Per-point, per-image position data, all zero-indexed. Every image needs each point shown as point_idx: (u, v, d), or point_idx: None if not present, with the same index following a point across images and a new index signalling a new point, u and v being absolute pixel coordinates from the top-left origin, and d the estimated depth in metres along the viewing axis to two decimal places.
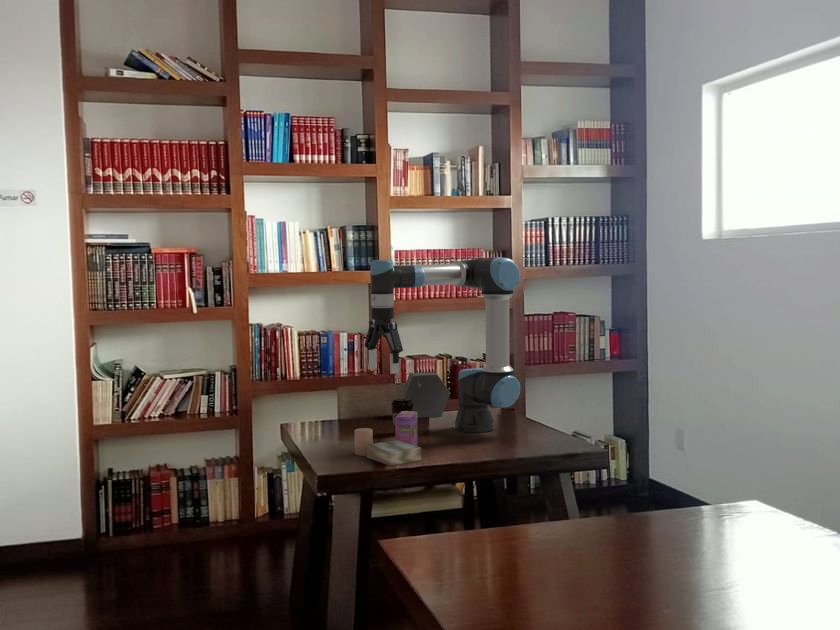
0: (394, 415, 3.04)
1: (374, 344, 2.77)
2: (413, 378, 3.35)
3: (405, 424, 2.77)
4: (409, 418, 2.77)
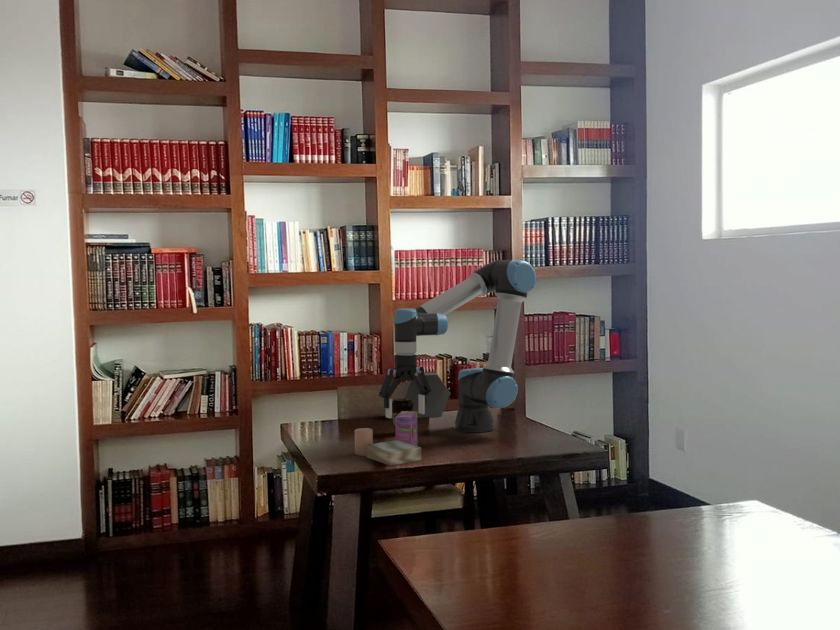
0: (394, 415, 3.04)
1: (419, 389, 2.85)
2: None
3: (405, 424, 2.77)
4: (409, 418, 2.77)
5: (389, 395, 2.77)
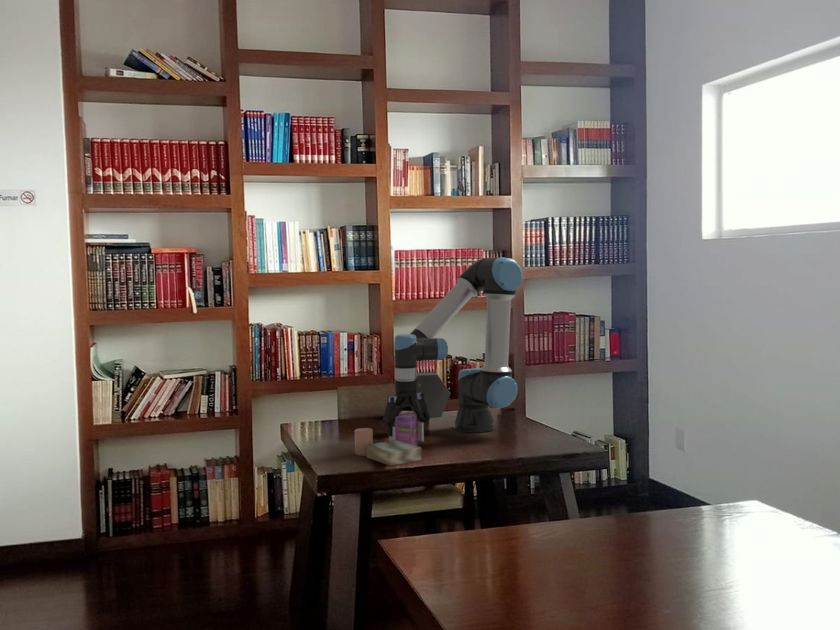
0: None
1: (419, 416, 2.85)
2: None
3: (405, 424, 2.77)
4: (409, 418, 2.77)
5: (392, 423, 2.78)
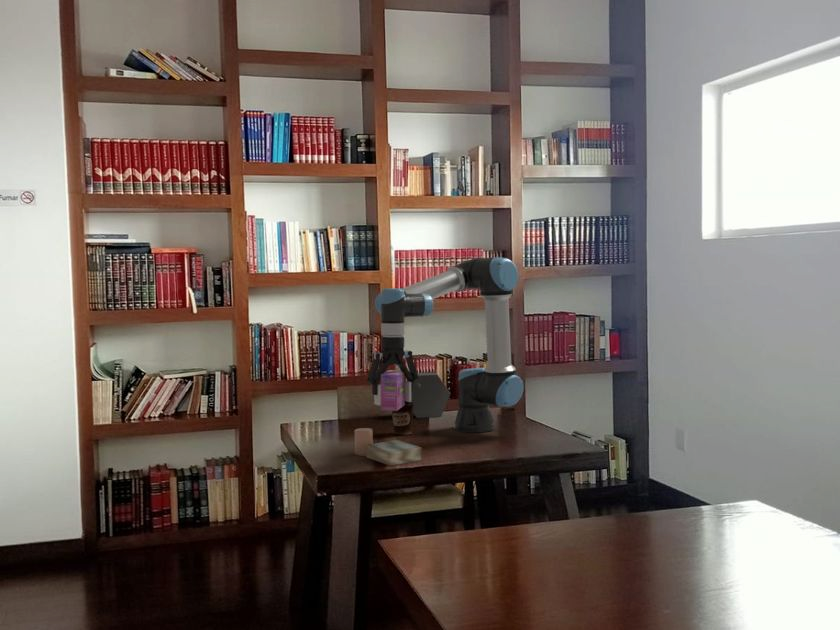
0: (394, 415, 3.04)
1: (406, 375, 2.71)
2: None
3: (391, 382, 2.63)
4: (395, 375, 2.62)
5: (377, 381, 2.63)
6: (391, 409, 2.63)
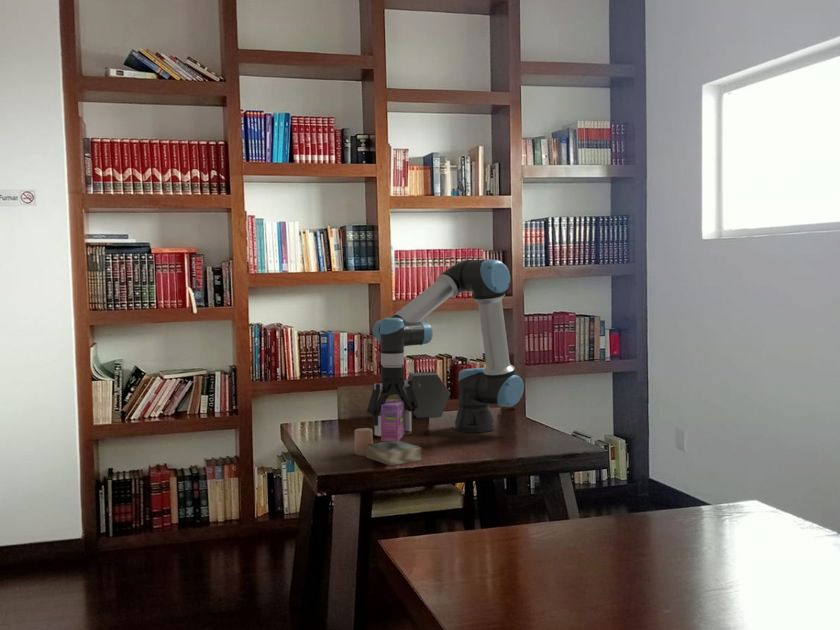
0: None
1: (406, 405, 2.70)
2: (413, 378, 3.35)
3: (391, 412, 2.62)
4: (395, 406, 2.61)
5: (378, 411, 2.62)
6: (391, 440, 2.62)
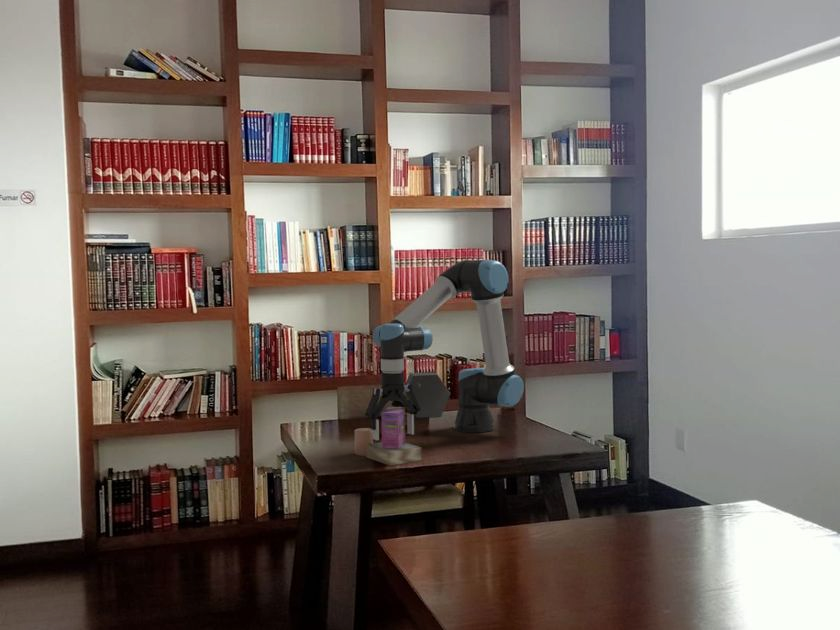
0: None
1: (408, 408, 2.70)
2: (413, 378, 3.35)
3: (392, 420, 2.62)
4: (396, 414, 2.62)
5: (376, 416, 2.62)
6: (392, 447, 2.63)
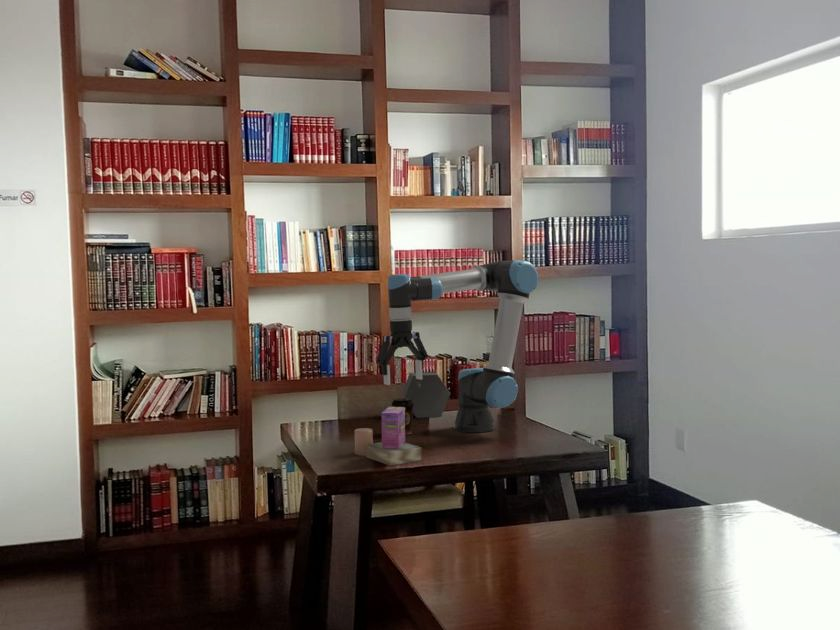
0: None
1: (416, 355, 2.84)
2: (413, 378, 3.35)
3: (392, 420, 2.62)
4: (396, 414, 2.62)
5: (387, 362, 2.75)
6: (392, 447, 2.63)
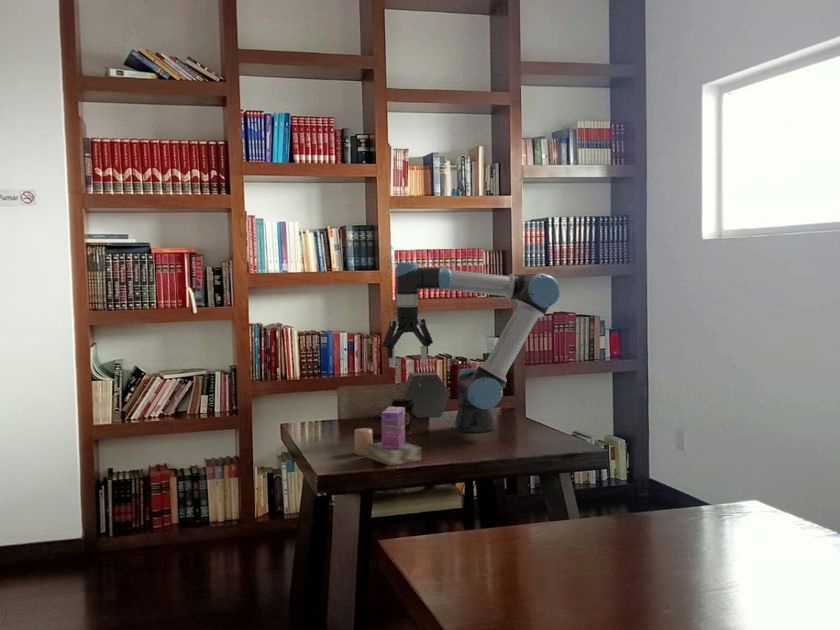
0: None
1: (421, 341, 2.97)
2: (413, 378, 3.35)
3: (392, 420, 2.62)
4: (396, 414, 2.62)
5: (392, 345, 2.88)
6: (392, 447, 2.63)
